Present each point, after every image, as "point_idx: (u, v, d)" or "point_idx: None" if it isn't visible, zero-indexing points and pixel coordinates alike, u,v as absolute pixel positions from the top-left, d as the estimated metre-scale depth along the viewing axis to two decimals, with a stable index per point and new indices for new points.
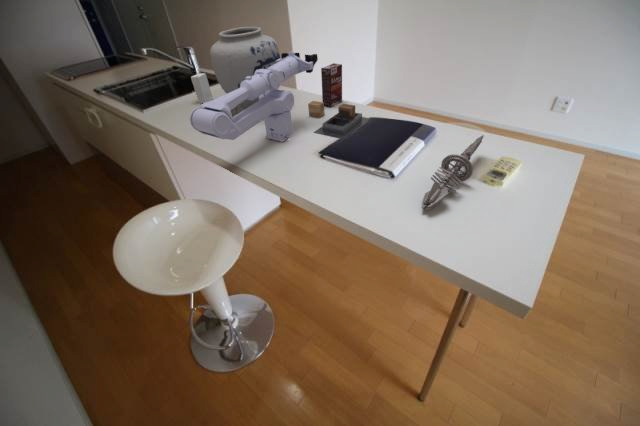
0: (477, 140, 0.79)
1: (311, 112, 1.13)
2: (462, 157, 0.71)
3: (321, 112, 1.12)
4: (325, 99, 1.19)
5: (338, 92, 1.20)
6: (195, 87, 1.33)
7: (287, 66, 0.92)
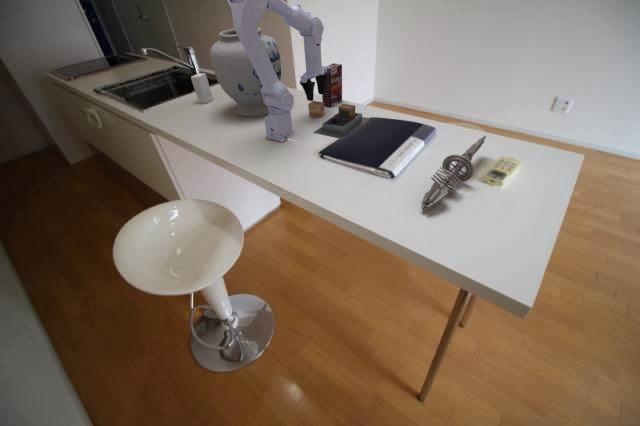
0: (479, 141, 0.79)
1: (311, 112, 1.13)
2: (463, 157, 0.71)
3: (321, 112, 1.12)
4: (325, 99, 1.19)
5: (338, 92, 1.20)
6: (195, 87, 1.33)
7: (320, 53, 1.00)
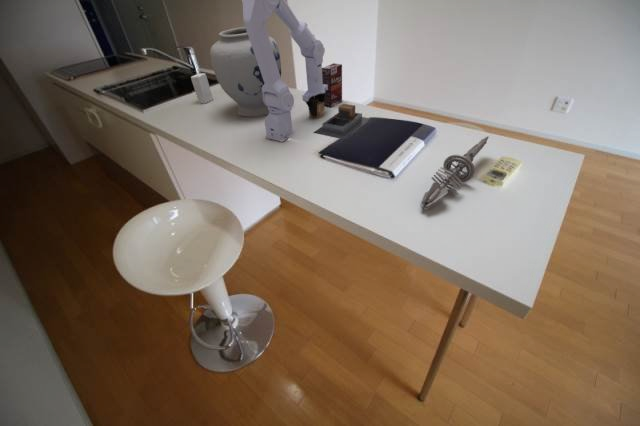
0: (481, 141, 0.79)
1: None
2: (464, 158, 0.70)
3: (321, 112, 1.12)
4: (325, 99, 1.19)
5: (338, 92, 1.20)
6: (195, 87, 1.33)
7: None
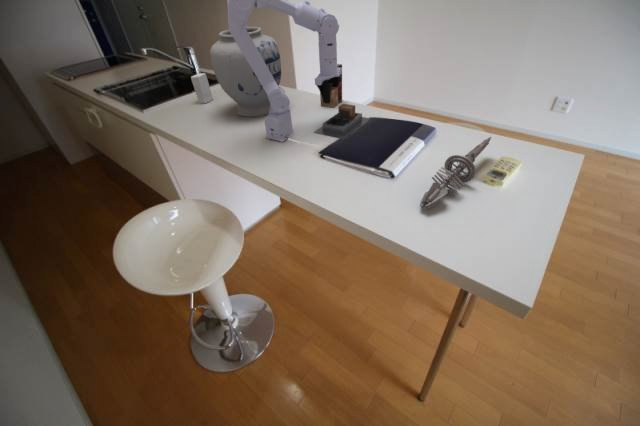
0: (484, 142, 0.78)
1: None
2: (465, 158, 0.70)
3: (334, 98, 1.00)
4: None
5: (338, 92, 1.20)
6: (195, 87, 1.33)
7: (334, 54, 0.91)
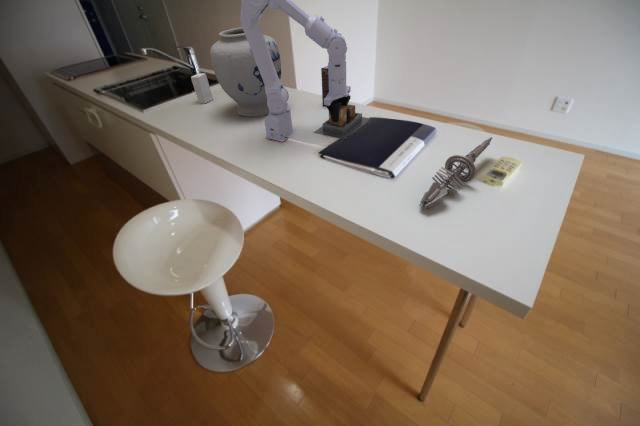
0: (485, 142, 0.78)
1: None
2: (465, 158, 0.70)
3: (343, 117, 0.99)
4: None
5: None
6: (195, 87, 1.33)
7: (342, 75, 0.90)
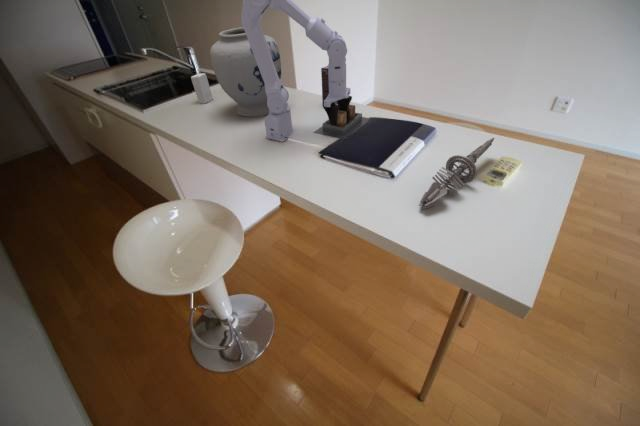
0: (486, 142, 0.78)
1: None
2: (466, 158, 0.70)
3: (343, 122, 1.00)
4: None
5: None
6: (195, 87, 1.33)
7: (342, 77, 0.90)
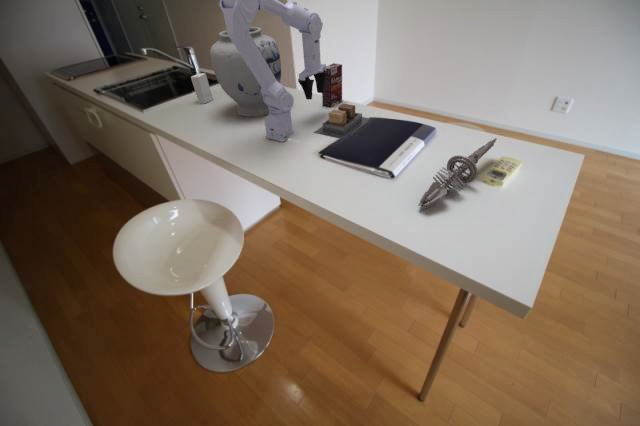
0: (488, 143, 0.78)
1: (332, 122, 1.01)
2: (467, 159, 0.70)
3: (343, 122, 1.00)
4: (325, 99, 1.19)
5: (338, 92, 1.20)
6: (195, 87, 1.33)
7: (319, 50, 0.97)
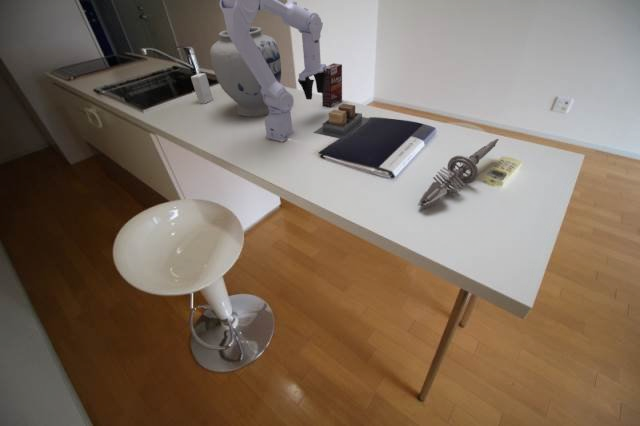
0: (490, 143, 0.77)
1: (332, 122, 1.01)
2: (467, 159, 0.70)
3: (343, 122, 1.00)
4: (325, 99, 1.19)
5: (338, 92, 1.20)
6: (195, 87, 1.33)
7: (319, 50, 0.97)
